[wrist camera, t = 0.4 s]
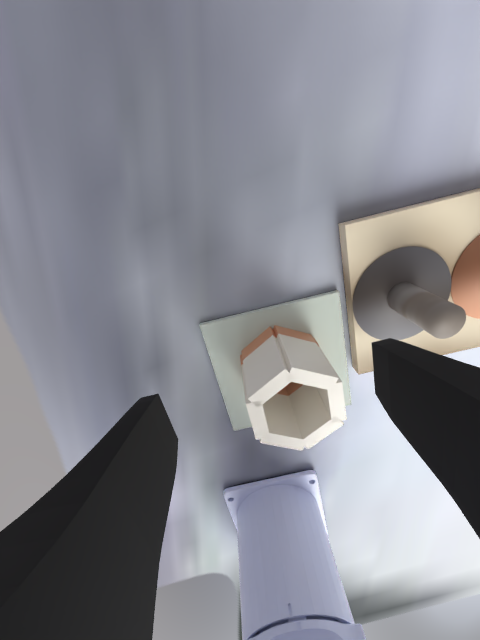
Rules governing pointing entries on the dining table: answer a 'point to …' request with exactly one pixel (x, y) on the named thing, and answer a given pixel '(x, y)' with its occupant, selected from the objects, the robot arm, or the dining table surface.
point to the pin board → (414, 277)
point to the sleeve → (291, 389)
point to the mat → (241, 329)
